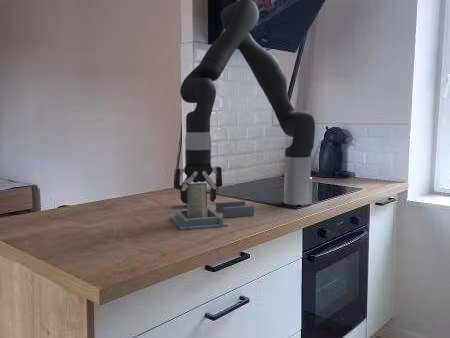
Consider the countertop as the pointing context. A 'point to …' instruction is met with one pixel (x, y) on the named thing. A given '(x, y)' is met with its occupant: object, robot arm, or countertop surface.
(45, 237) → the countertop surface
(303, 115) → the robot arm
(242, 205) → the slot
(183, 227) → the grey square tray
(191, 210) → the box
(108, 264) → the countertop surface
